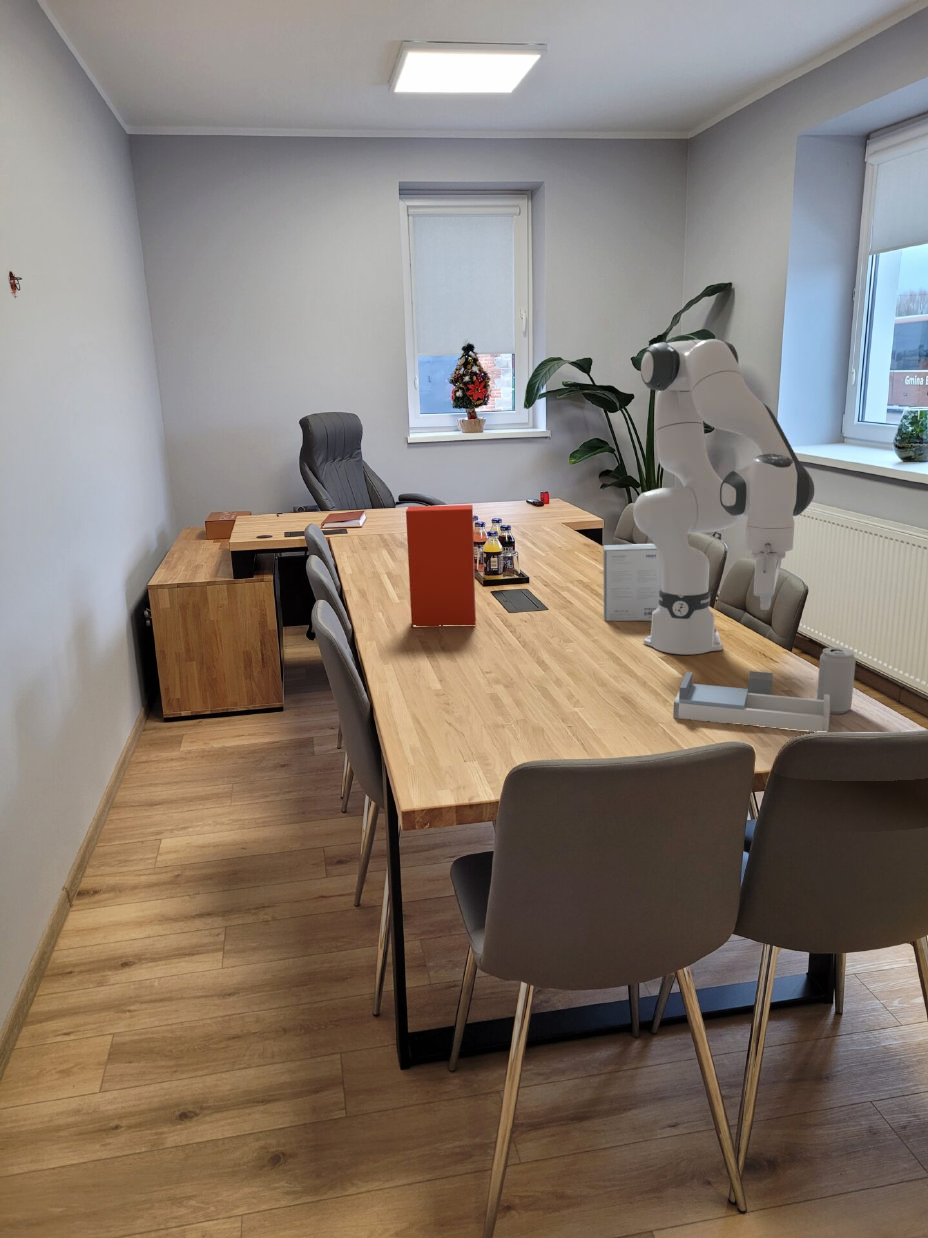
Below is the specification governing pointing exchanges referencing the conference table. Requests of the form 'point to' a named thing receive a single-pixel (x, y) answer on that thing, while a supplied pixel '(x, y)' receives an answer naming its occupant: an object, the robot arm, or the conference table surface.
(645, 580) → the hard drive box
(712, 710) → the tray
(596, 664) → the conference table surface
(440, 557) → the file binder
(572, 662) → the conference table surface
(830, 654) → the beverage can
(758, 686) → the block
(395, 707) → the conference table surface
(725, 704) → the cover
